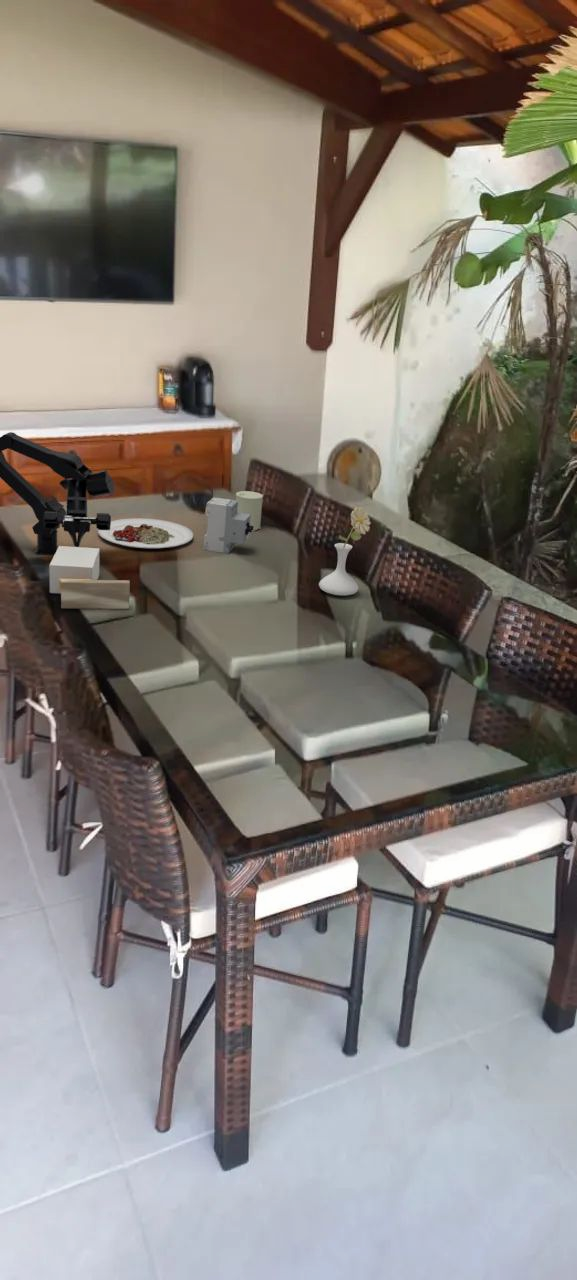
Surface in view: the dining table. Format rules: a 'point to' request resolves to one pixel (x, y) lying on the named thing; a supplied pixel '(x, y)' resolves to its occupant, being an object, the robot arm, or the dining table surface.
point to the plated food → (146, 533)
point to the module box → (73, 565)
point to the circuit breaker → (225, 525)
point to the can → (250, 506)
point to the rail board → (95, 594)
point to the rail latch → (69, 579)
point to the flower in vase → (339, 578)
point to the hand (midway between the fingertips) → (76, 548)
